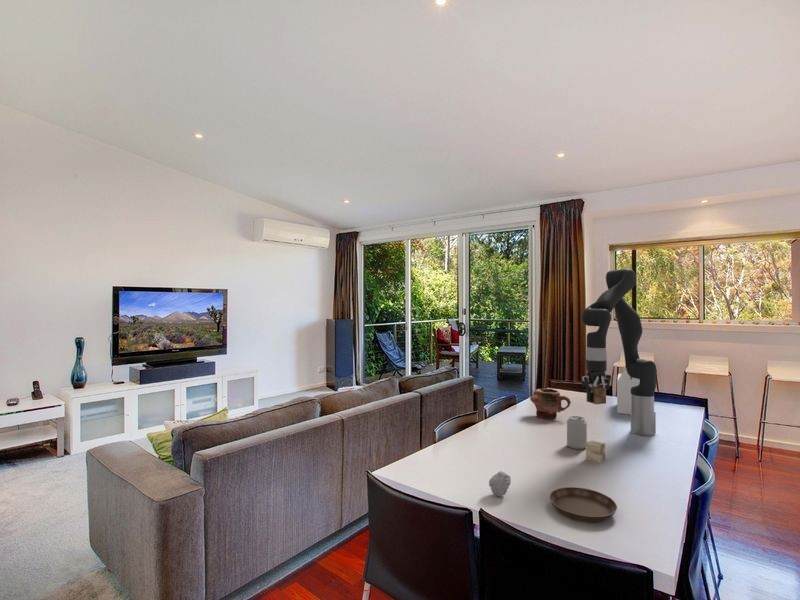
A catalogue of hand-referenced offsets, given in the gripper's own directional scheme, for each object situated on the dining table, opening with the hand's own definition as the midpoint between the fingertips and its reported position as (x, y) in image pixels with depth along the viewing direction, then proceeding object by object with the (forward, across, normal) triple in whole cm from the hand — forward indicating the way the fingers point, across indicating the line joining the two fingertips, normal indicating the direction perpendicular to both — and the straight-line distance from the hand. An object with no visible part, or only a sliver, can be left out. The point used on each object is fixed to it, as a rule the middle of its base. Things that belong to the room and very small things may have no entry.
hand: (596, 401), depth 169 cm
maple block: (+20, +7, +7) cm, 22 cm away
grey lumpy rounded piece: (+20, +58, +18) cm, 64 cm away
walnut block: (0, 0, 0) cm, 0 cm away
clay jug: (+20, -16, -45) cm, 52 cm away
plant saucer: (+20, +42, +35) cm, 58 cm away
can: (+20, +4, -6) cm, 21 cm away
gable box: (+19, -68, -40) cm, 82 cm away
